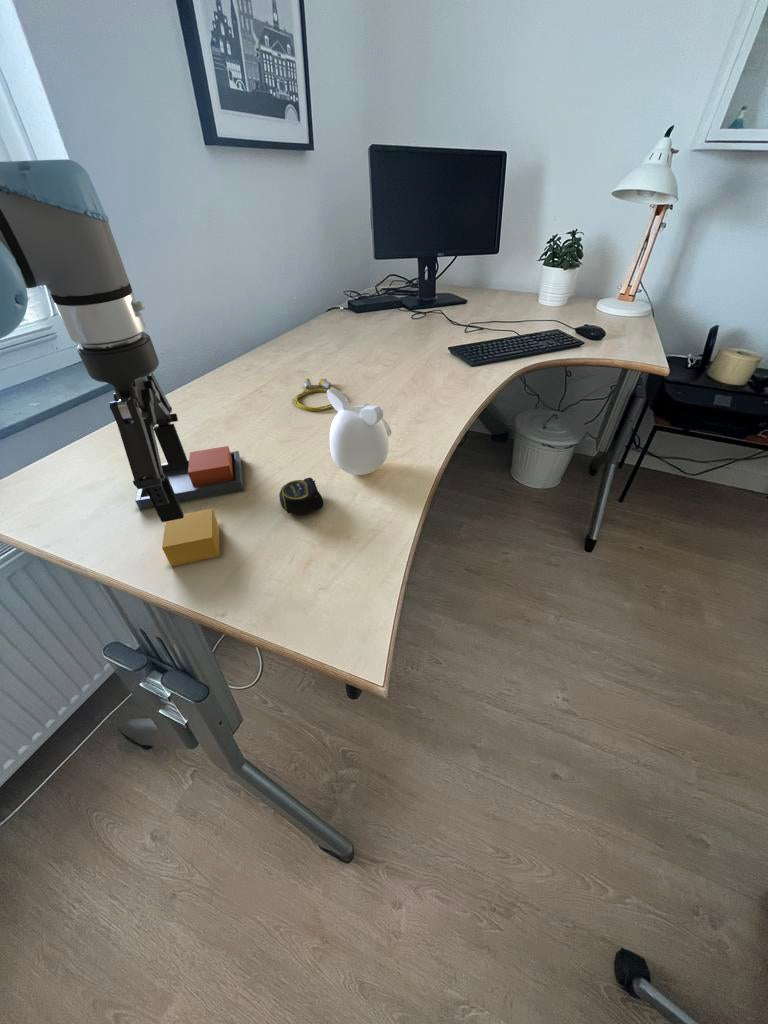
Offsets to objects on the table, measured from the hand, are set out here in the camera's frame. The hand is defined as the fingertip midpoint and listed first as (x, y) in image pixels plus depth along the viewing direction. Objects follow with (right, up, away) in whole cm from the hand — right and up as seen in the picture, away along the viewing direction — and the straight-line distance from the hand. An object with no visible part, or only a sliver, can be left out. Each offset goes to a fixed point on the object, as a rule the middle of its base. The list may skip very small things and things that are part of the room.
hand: (176, 489), depth 62 cm
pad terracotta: (-2, +3, +19) cm, 20 cm away
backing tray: (-6, +2, +19) cm, 20 cm away
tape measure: (+16, -2, +13) cm, 21 cm away
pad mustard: (0, -9, +6) cm, 10 cm away
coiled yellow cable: (+14, +25, +46) cm, 54 cm away
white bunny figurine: (+25, +5, +22) cm, 34 cm away
